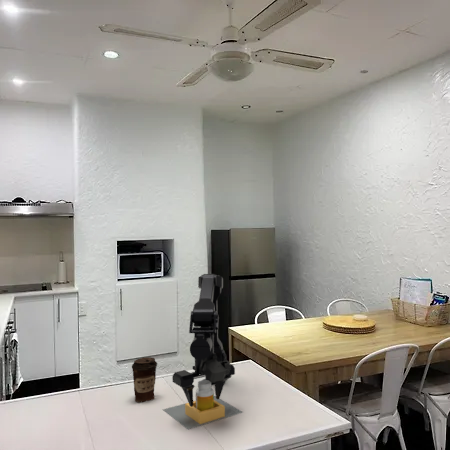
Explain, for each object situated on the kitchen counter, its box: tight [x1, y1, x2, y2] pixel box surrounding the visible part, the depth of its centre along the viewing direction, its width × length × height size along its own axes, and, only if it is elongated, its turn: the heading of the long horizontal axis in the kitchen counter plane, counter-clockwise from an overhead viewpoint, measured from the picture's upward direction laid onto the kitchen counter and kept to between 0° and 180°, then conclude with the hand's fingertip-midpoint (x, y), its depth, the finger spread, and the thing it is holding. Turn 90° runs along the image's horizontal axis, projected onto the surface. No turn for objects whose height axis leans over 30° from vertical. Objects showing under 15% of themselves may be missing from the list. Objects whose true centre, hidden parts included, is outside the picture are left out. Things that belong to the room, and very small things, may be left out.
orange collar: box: [184, 400, 225, 424], centre depth 123 cm, size 8×8×3 cm
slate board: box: [162, 395, 243, 430], centre depth 126 cm, size 16×19×1 cm
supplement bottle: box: [195, 379, 215, 411], centre depth 123 cm, size 5×5×10 cm
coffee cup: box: [131, 356, 158, 403], centre depth 137 cm, size 9×8×13 cm
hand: (204, 402), depth 123 cm, fingers open, 9 cm apart
